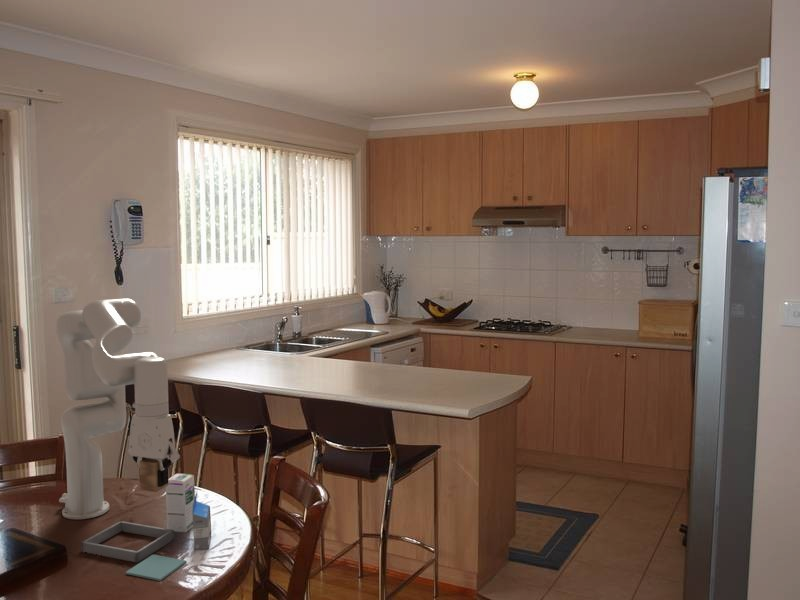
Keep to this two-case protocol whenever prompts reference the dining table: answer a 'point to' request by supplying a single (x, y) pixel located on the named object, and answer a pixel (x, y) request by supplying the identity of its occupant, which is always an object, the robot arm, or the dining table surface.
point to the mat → (156, 567)
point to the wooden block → (149, 475)
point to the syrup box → (180, 502)
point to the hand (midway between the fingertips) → (154, 482)
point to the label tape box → (201, 525)
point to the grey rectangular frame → (135, 556)
